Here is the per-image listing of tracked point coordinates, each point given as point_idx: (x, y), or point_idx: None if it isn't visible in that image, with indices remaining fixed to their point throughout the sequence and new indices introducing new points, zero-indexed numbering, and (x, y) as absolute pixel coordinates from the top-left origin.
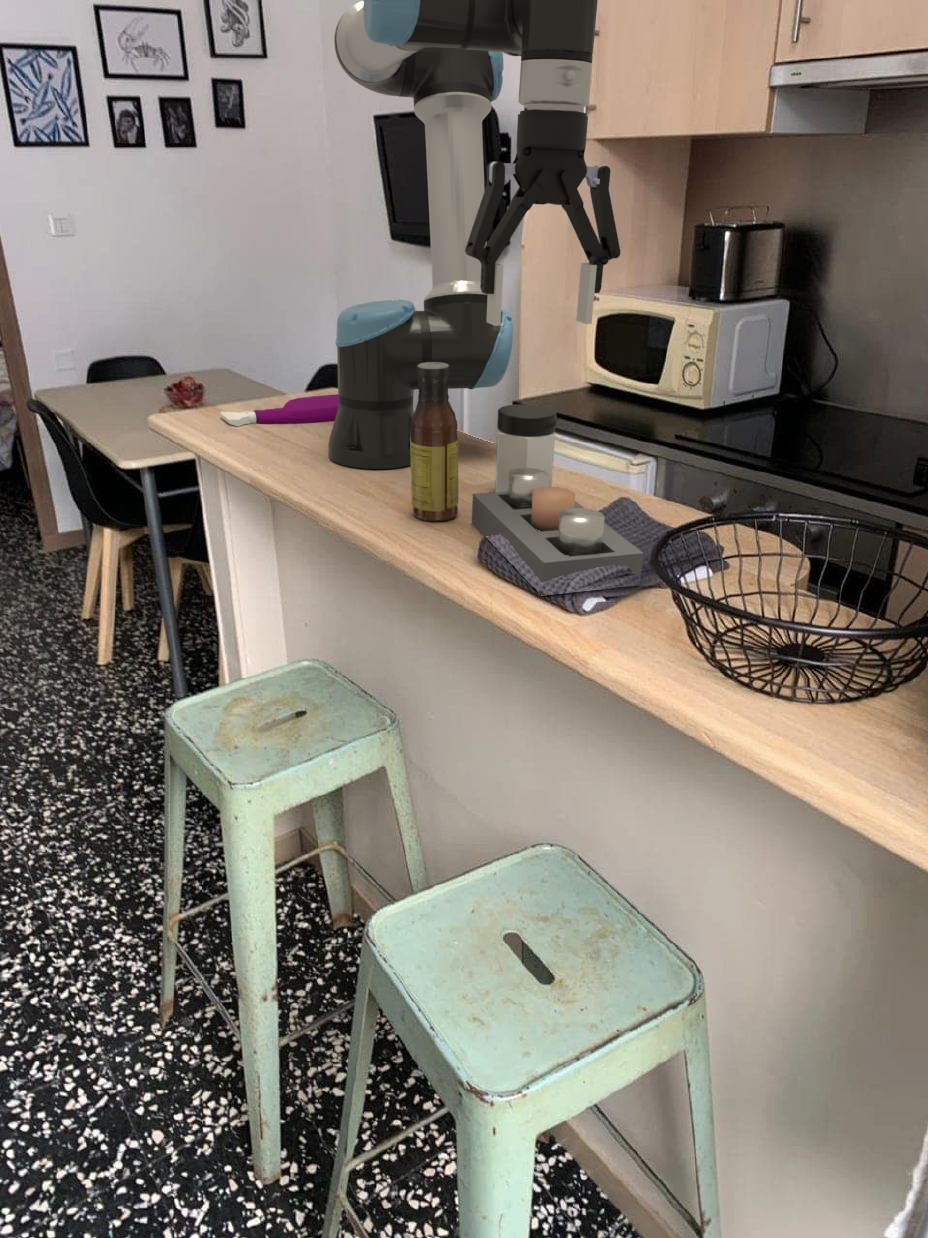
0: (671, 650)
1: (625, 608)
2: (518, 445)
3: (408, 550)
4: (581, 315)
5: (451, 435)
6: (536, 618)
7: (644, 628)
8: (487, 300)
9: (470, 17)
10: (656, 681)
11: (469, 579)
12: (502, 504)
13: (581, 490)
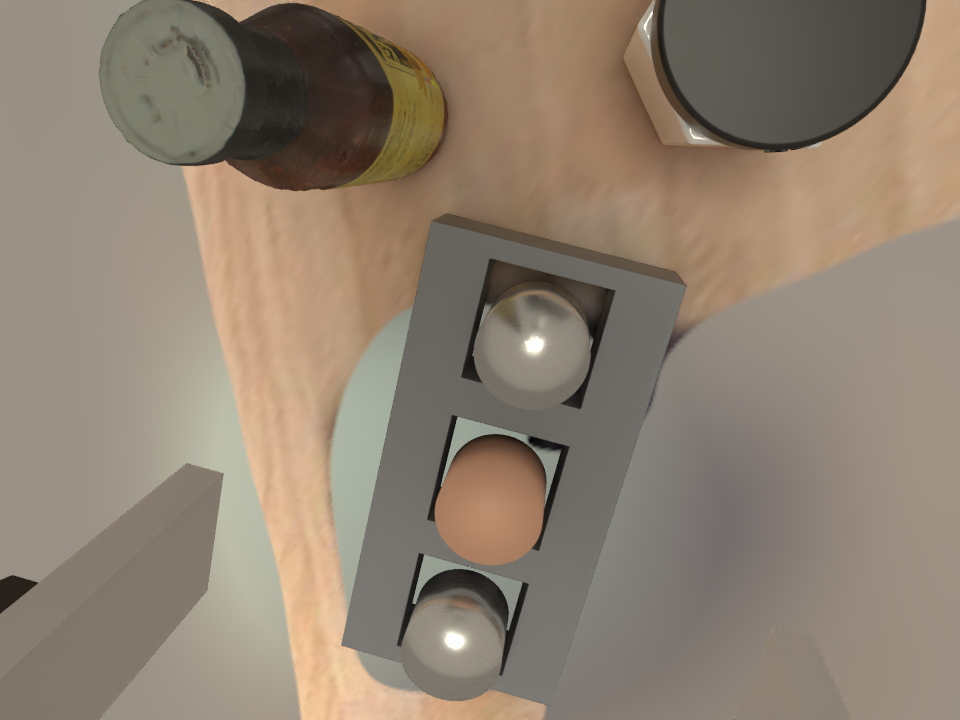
0: None
1: (465, 703)
2: (669, 112)
3: (233, 298)
4: (755, 714)
5: (331, 183)
6: (308, 656)
7: None
8: (113, 523)
9: None
10: None
11: (282, 482)
12: (456, 332)
13: (914, 113)
